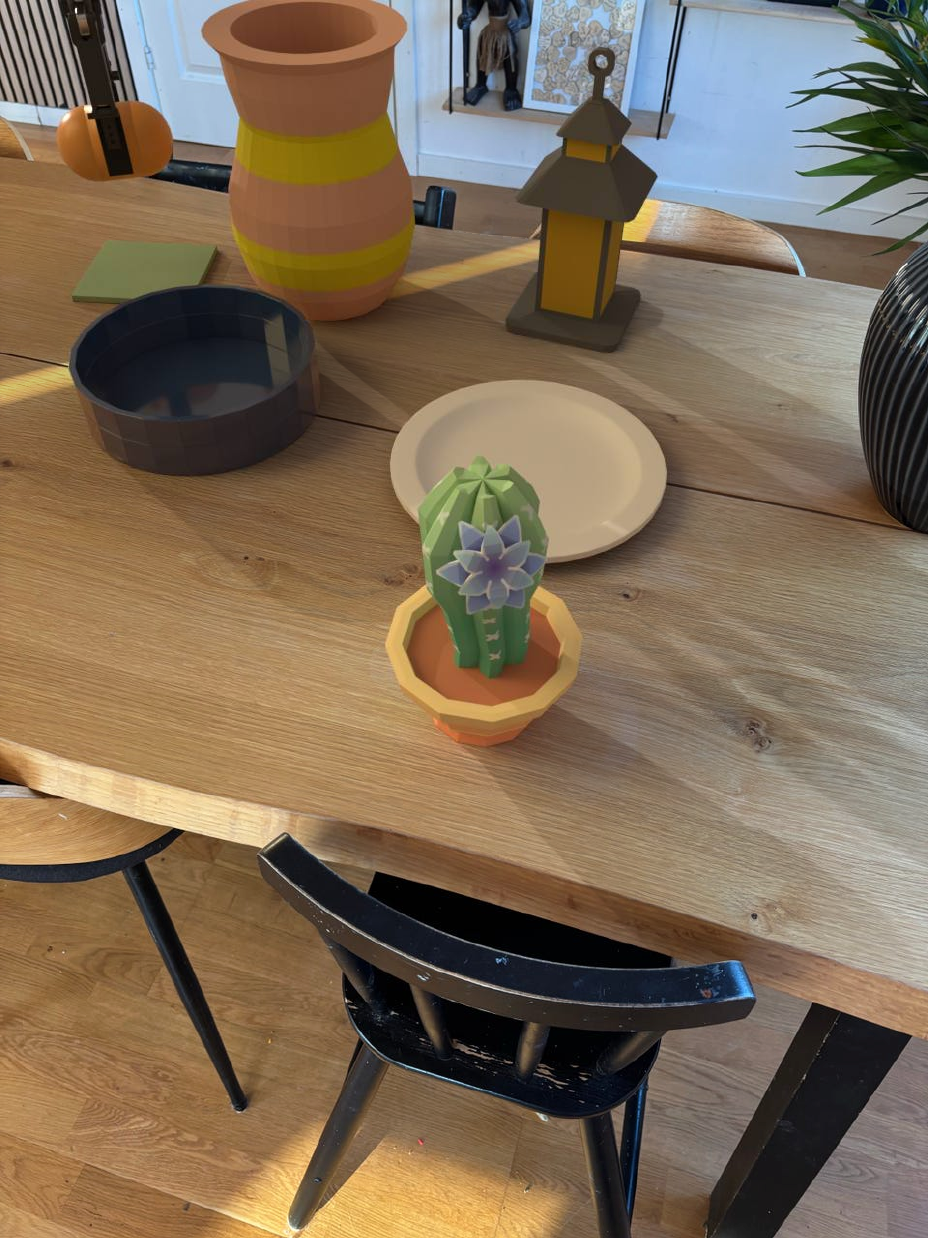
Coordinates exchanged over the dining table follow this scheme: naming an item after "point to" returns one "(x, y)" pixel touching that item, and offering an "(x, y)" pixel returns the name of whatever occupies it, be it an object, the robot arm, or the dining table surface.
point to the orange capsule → (142, 134)
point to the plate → (541, 458)
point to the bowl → (197, 378)
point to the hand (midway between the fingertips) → (119, 157)
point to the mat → (142, 270)
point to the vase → (316, 151)
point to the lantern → (583, 227)
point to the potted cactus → (483, 611)
